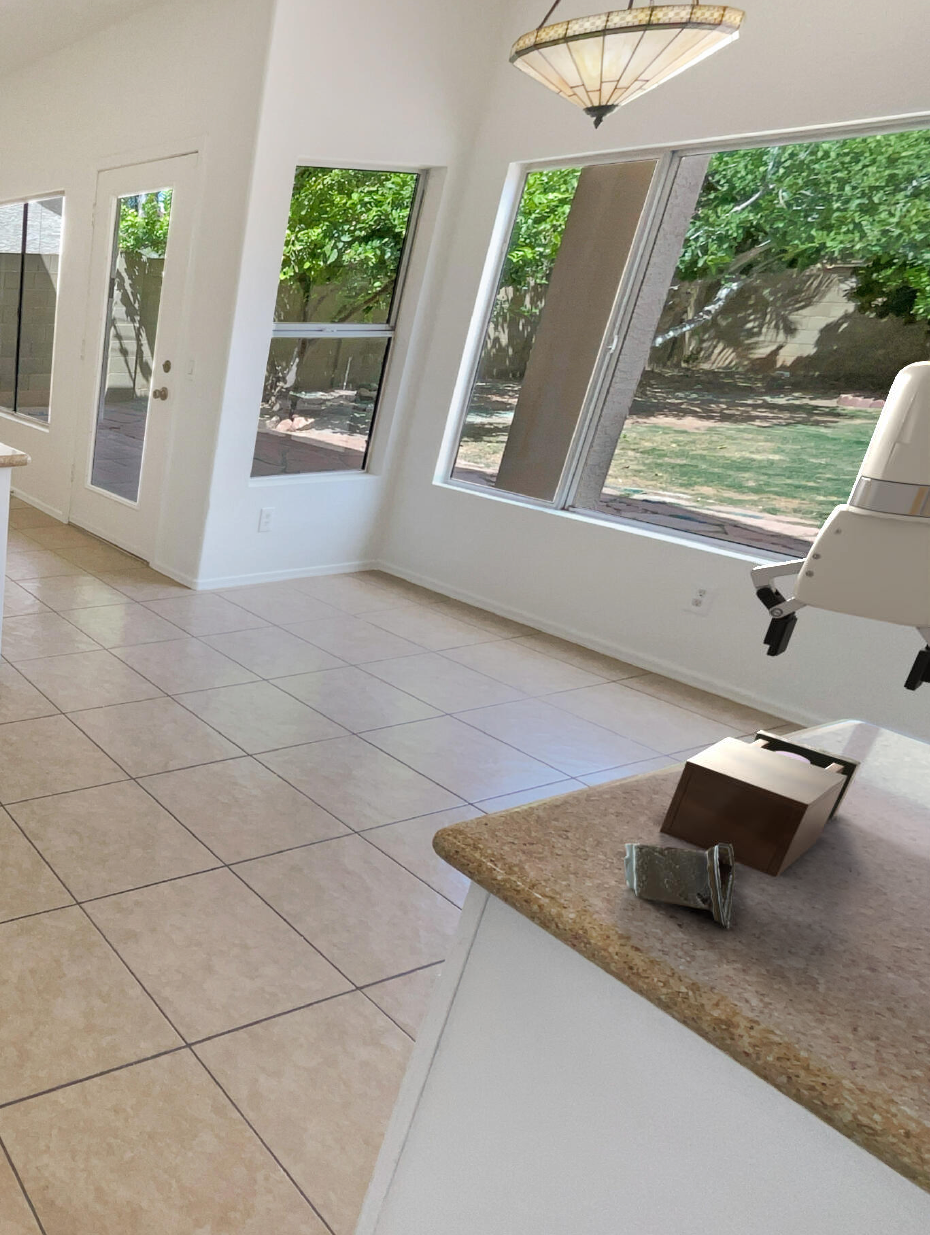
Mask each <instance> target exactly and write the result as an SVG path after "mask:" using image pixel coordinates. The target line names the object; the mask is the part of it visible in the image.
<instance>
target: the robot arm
mask: <svg viewBox="0 0 930 1235" xmlns="http://www.w3.org/2000/svg"><path fill="white" fill-rule="evenodd" d="M749 573H750V577H751V580H752V583H753V587H754V588H755V591H756V592H755V595H756V597H757V598H758V600H759V601H760V602H761V603H762V604H763V606H764V607H765V608H766V609H767V610H768V614H769V616H770V617H771V621H770V622H769V625H768V627H767V631H766V634H765V636H764V639H763V642H762V643H763V645H766V646H768V648H767V651H766V656H769V657H772V658H773V657H778V656H780V655H781V654H783V653H784V652H786V651H787V649H788V646H789V644H790V641H791V638H792V636H793V632H794V630H795V628H796V624H797V622H798V619H799V617H797V615H796V612H797V611H798V610H800V609H803V608H805V607H812V608H816V609H820V610H825V611H830V612H834V613H840V614H843V615H844V614H845V615H848V616H853V617H859V618H863V619H869V620H874V621H880V622H884V623H887V624H893V625H898V626H904V627H911V628H915V629H916V630H917V631H918V633H919V634H920V636H921V637H922V639H923V640H924V642H925V643H926V644H925V646H923V647H922V648H921V649H920V650H918V653H917V655H916V656H915V659H914V662H913V663H912V666H911V668H910V671H909V673H908V676H907V677H906V680H905V682H904V685H903V688H905V689H906V690H907V691H912V692H915V691H916V690H917V689H919V688H920V687H921V686H922V685H923V683H926V684H930V360H926V361H925V360H924V361H918V362H914V363H911V364H908V365H907V366H905V367H904V368H903V369H901V370H900V371H899V372H898V374H897V375H896V376H895V379H894V381H893V384H892V385H891V388H890V390H889V394H888V396H887V399H886V401H885V404H884V407H883V409H882V411H881V414H880V416H879V419H878V422H877V424H876V428H875V430H874V432H873V435H872V437H871V441H870V443H869V446H868V448H867V451H866V454H865V456H864V459H863V462H862V464H861V466H860V469H859V471H858V475H857V477H856V481H855V483H854V485H853V488H852V491H851V493H850V496H849V498H848V501H847V503H846V504H838V505H837V506H836V507H835V508H834V510H833V511H832V512H831V514H830V515H829V516H828V518H827V520H826V521H825V523H824V525H823V526H822V527H821V529H820V531H819V533H818V534H817V536H816V539H815V540H814V543H813V544H812V546H811V548H810V550H809V551H808V554H807V556H806V558H803V559H798V560H791V561H786V562H779V563H774V564H768V565H762V566H757V567H755V568H753V569H751V570H750V572H749ZM797 574H798V575H797ZM792 575H797V578H796V580H795V583H794V585H793V588H792V597H791V598H789V599H786V598H785V597H784V596H783V594H782V593H781V592H780V590H778V588H777V587H776V585H775V581H774V579H775V578H779V577H785V576H792Z"/></svg>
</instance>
